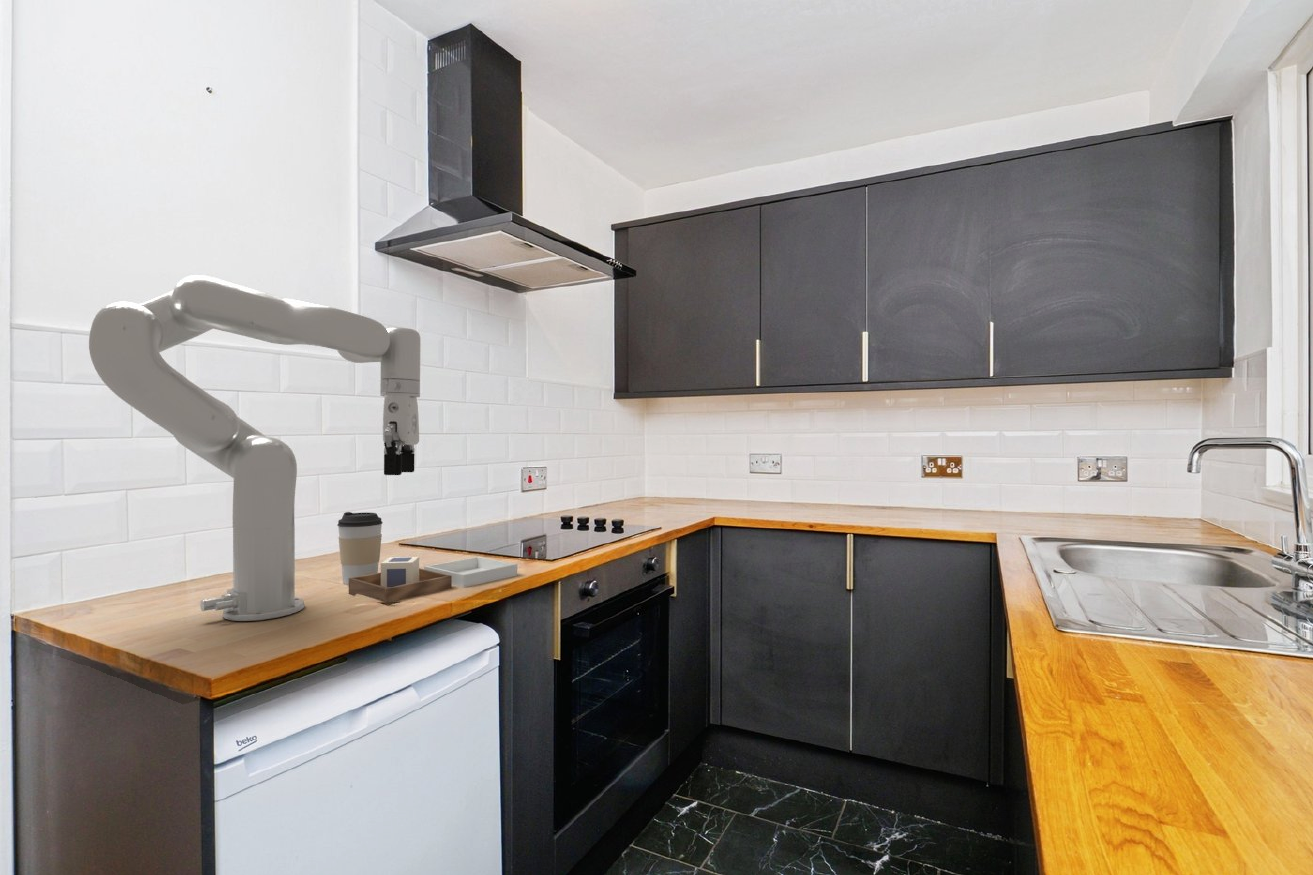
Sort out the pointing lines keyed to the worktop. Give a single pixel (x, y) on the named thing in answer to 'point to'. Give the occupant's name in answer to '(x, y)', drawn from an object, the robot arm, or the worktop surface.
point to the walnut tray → (373, 588)
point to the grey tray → (474, 570)
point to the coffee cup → (359, 544)
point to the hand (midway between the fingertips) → (399, 473)
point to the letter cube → (399, 571)
